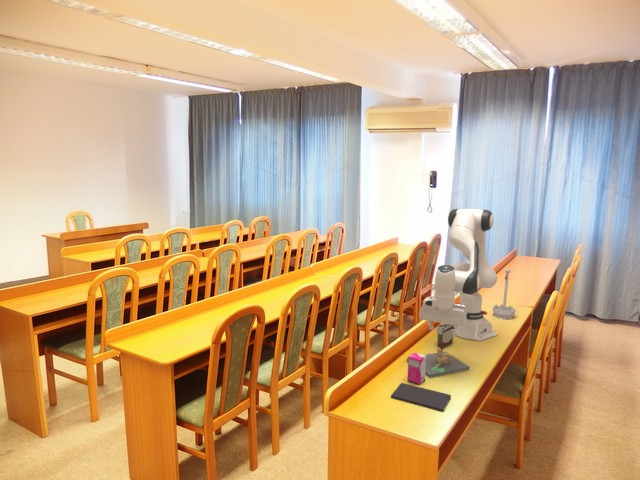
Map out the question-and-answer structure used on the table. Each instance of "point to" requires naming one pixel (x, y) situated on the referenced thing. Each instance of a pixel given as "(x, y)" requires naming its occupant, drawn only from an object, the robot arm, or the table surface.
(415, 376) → the supplement box
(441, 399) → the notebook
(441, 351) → the tan wooden handled piece
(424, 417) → the table surface
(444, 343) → the brown cream half-round block
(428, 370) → the flat gray board
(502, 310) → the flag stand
